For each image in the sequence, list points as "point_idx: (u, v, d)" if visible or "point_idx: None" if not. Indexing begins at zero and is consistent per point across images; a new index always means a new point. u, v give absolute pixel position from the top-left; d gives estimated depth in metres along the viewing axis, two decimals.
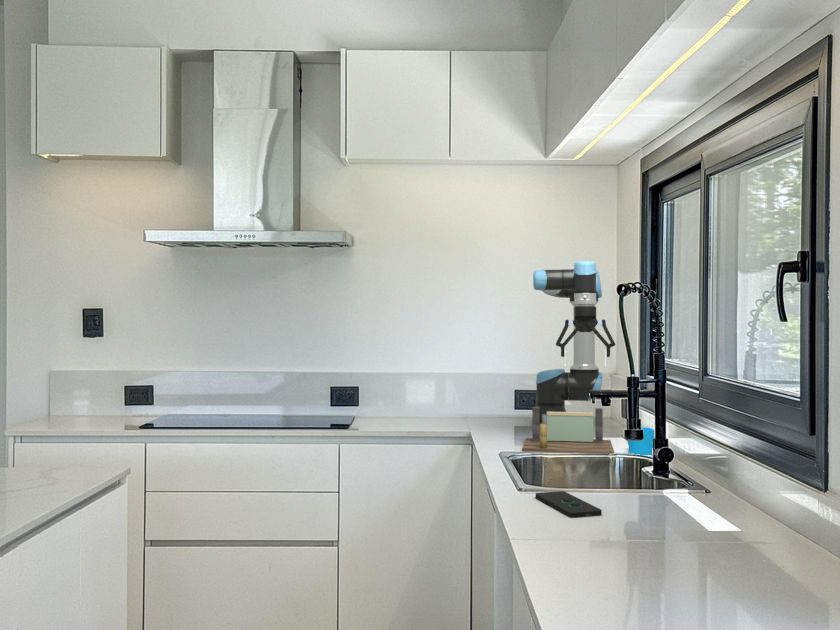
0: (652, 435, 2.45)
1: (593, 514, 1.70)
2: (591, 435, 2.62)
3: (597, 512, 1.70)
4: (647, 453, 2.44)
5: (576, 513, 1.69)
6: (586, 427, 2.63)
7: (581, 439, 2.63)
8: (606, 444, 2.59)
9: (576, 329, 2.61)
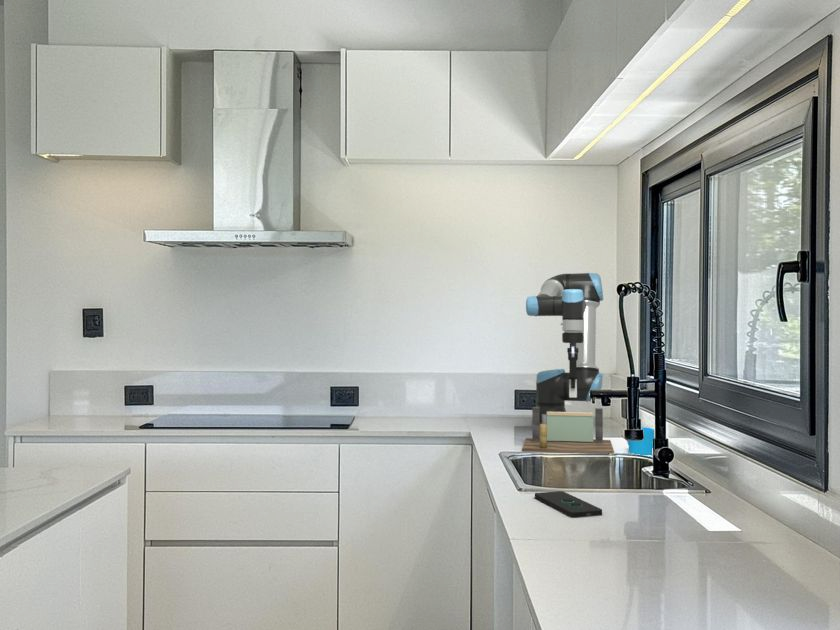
0: (652, 435, 2.45)
1: (594, 514, 1.70)
2: (591, 435, 2.62)
3: (598, 512, 1.71)
4: (647, 453, 2.44)
5: (577, 513, 1.69)
6: (586, 427, 2.63)
7: (581, 439, 2.63)
8: (606, 444, 2.59)
9: None
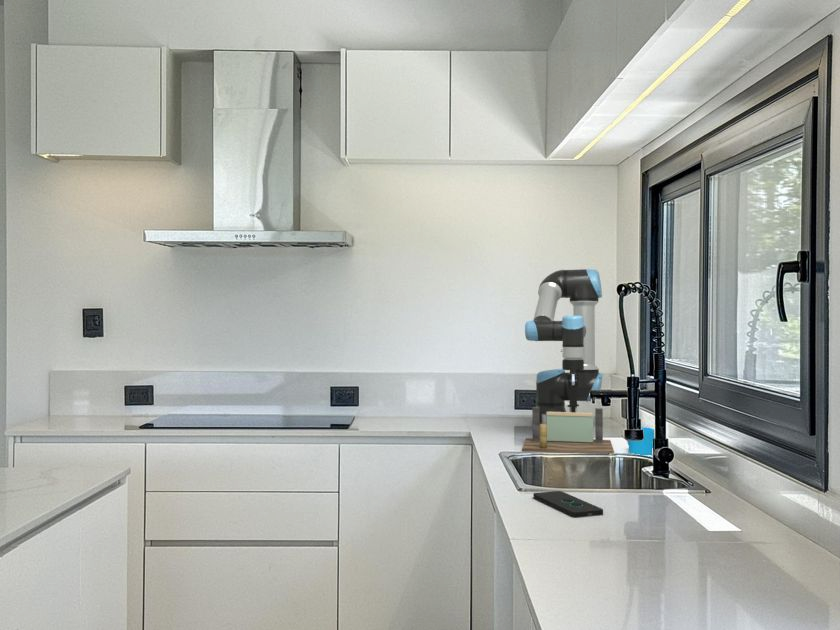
0: (652, 435, 2.45)
1: (595, 513, 1.71)
2: (591, 435, 2.61)
3: (599, 511, 1.71)
4: (647, 453, 2.44)
5: (579, 513, 1.69)
6: (586, 427, 2.62)
7: (581, 439, 2.62)
8: (606, 444, 2.59)
9: None
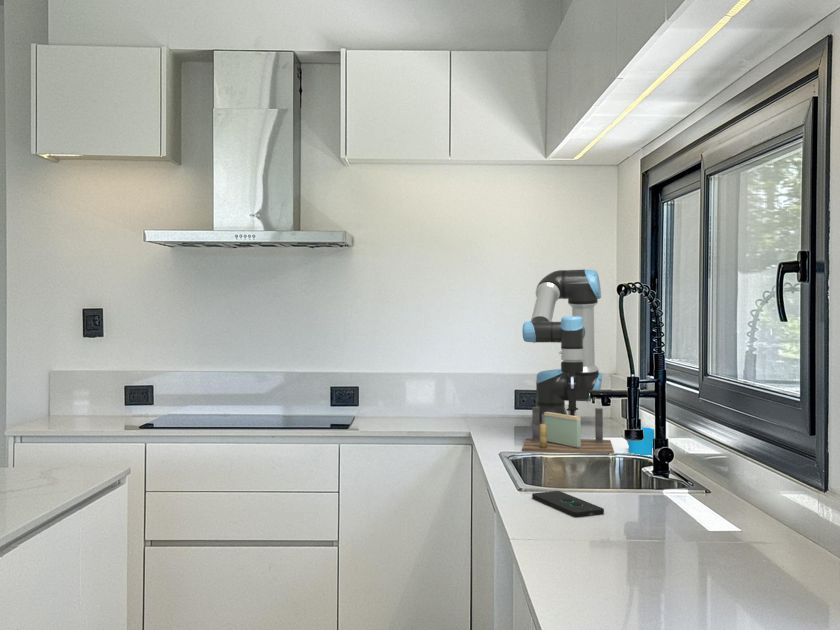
0: (652, 435, 2.45)
1: (596, 513, 1.71)
2: (575, 440, 2.52)
3: (600, 511, 1.71)
4: (647, 453, 2.44)
5: (580, 512, 1.69)
6: (572, 431, 2.54)
7: (568, 443, 2.55)
8: (606, 444, 2.59)
9: None
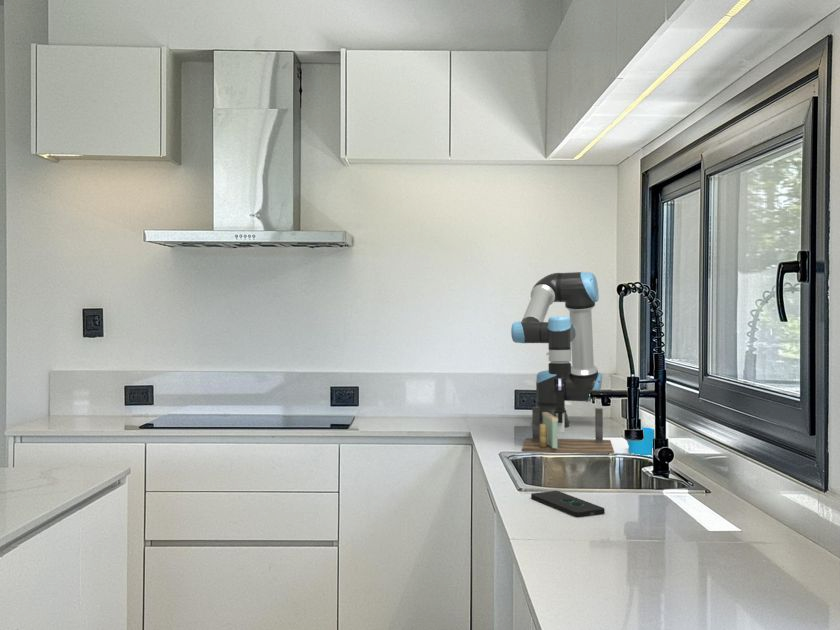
0: (652, 435, 2.45)
1: (597, 513, 1.71)
2: (552, 441, 2.50)
3: (601, 510, 1.72)
4: (647, 453, 2.44)
5: (581, 512, 1.70)
6: (551, 432, 2.52)
7: (550, 444, 2.53)
8: (606, 444, 2.59)
9: None
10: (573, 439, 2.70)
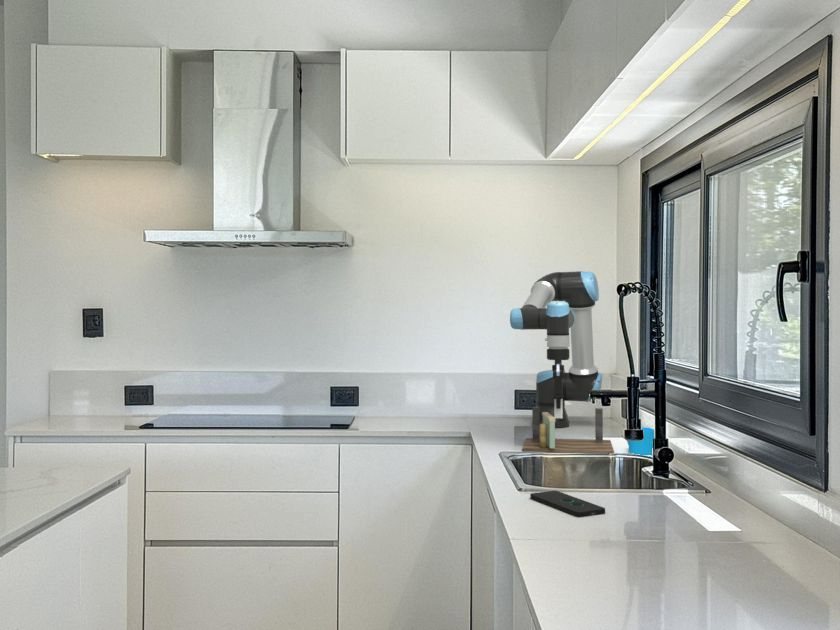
0: (652, 435, 2.45)
1: (598, 512, 1.71)
2: (549, 441, 2.50)
3: (601, 510, 1.72)
4: (647, 453, 2.44)
5: (582, 512, 1.70)
6: (548, 432, 2.52)
7: (548, 444, 2.53)
8: (606, 444, 2.59)
9: None
10: (573, 439, 2.70)
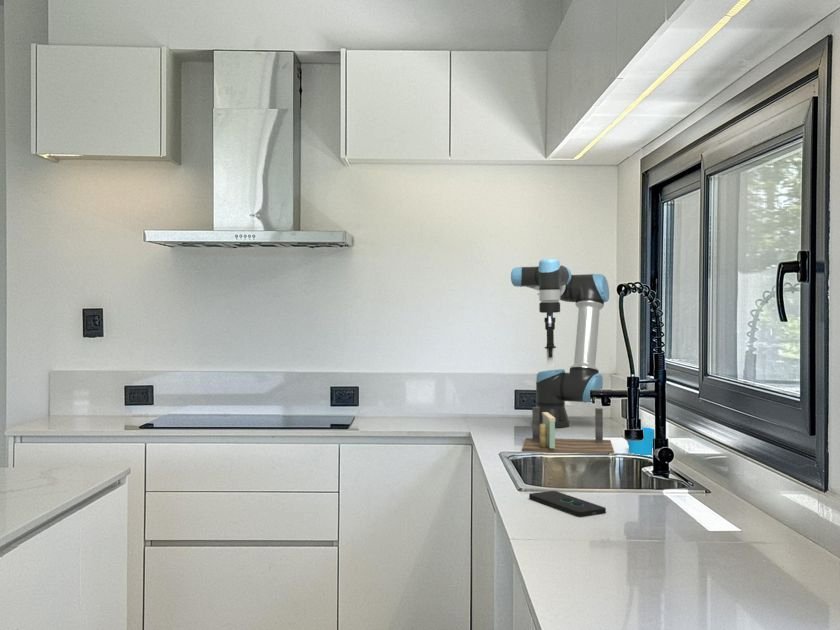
0: (652, 435, 2.45)
1: (598, 512, 1.72)
2: (549, 441, 2.50)
3: (602, 510, 1.72)
4: (647, 453, 2.44)
5: (584, 512, 1.70)
6: (548, 432, 2.52)
7: (548, 444, 2.53)
8: (606, 444, 2.59)
9: None
10: (573, 439, 2.70)
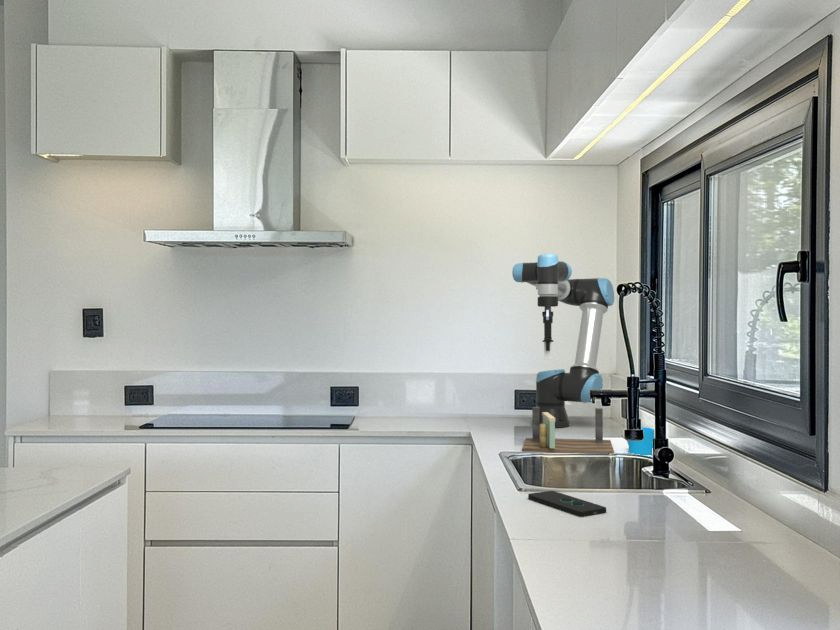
0: (652, 435, 2.45)
1: (599, 512, 1.72)
2: (549, 441, 2.50)
3: (603, 510, 1.72)
4: (647, 453, 2.44)
5: (585, 512, 1.70)
6: (548, 432, 2.52)
7: (548, 444, 2.53)
8: (606, 444, 2.59)
9: None
10: (573, 439, 2.70)
